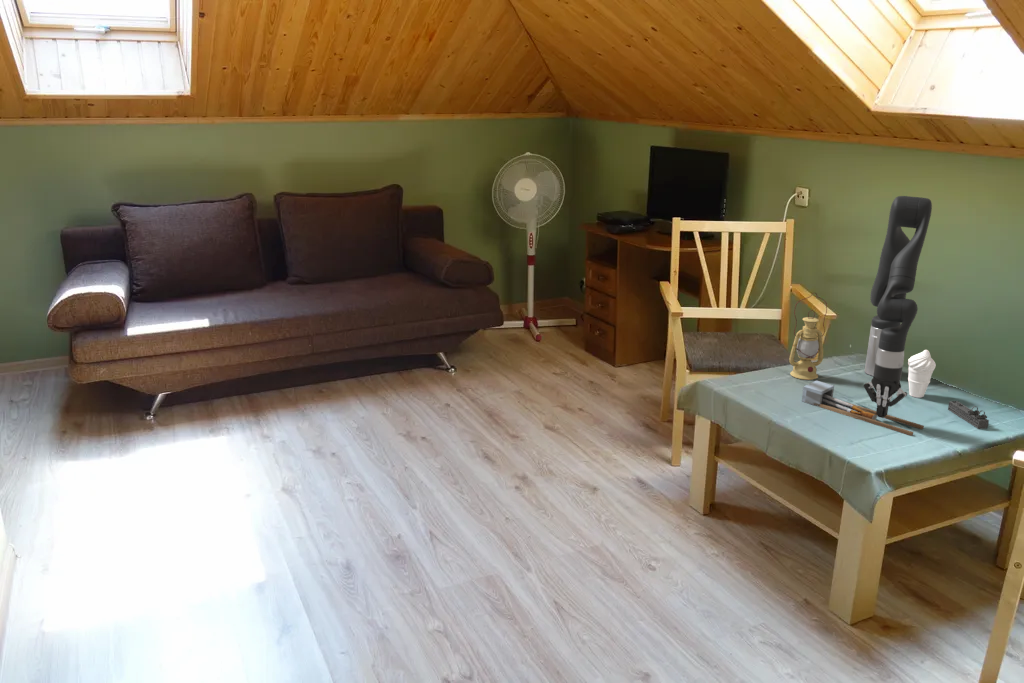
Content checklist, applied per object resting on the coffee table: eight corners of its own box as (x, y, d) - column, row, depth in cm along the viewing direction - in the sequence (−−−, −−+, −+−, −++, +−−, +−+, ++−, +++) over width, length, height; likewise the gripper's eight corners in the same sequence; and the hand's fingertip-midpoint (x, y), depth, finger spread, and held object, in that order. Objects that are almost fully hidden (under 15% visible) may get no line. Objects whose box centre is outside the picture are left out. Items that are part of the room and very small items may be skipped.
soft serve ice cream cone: (905, 398, 266) (912, 352, 261) (900, 389, 274) (907, 344, 269) (933, 401, 264) (941, 354, 259) (927, 391, 272) (934, 346, 267)
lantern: (792, 381, 281) (802, 297, 272) (782, 371, 291) (791, 289, 281) (826, 380, 282) (837, 296, 272) (815, 370, 291) (825, 289, 282)
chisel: (878, 414, 250) (872, 412, 248) (874, 423, 250) (869, 421, 248) (827, 394, 265) (821, 392, 264) (823, 403, 266) (818, 401, 264)
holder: (814, 395, 269) (816, 380, 267) (923, 428, 244) (926, 412, 242) (801, 401, 264) (803, 386, 262) (911, 435, 239) (914, 419, 237)
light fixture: (957, 410, 258) (960, 394, 256) (987, 429, 244) (990, 412, 242) (947, 410, 258) (950, 394, 256) (977, 429, 244) (980, 412, 242)
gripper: (917, 365, 241) (908, 419, 246) (873, 355, 251) (866, 407, 256) (905, 371, 236) (897, 426, 242) (861, 360, 246) (854, 413, 251)
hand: (881, 416), depth 249 cm, fingers closed
